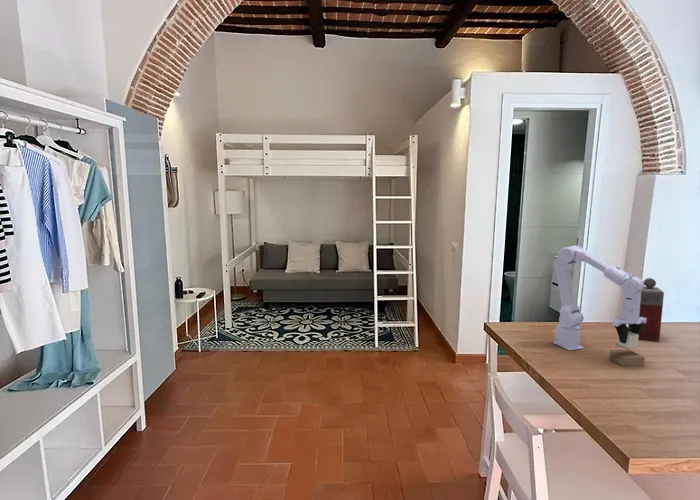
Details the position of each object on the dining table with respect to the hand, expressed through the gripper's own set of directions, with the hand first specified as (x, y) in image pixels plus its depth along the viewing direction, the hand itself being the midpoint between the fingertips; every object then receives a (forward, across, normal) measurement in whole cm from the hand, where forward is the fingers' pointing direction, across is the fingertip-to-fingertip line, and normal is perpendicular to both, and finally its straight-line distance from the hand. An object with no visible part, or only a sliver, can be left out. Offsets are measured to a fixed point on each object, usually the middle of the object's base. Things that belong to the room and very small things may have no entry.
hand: (627, 342), depth 156 cm
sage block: (+1, 0, 0) cm, 1 cm away
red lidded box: (+9, +34, +20) cm, 40 cm away
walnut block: (+9, 0, 0) cm, 9 cm away
